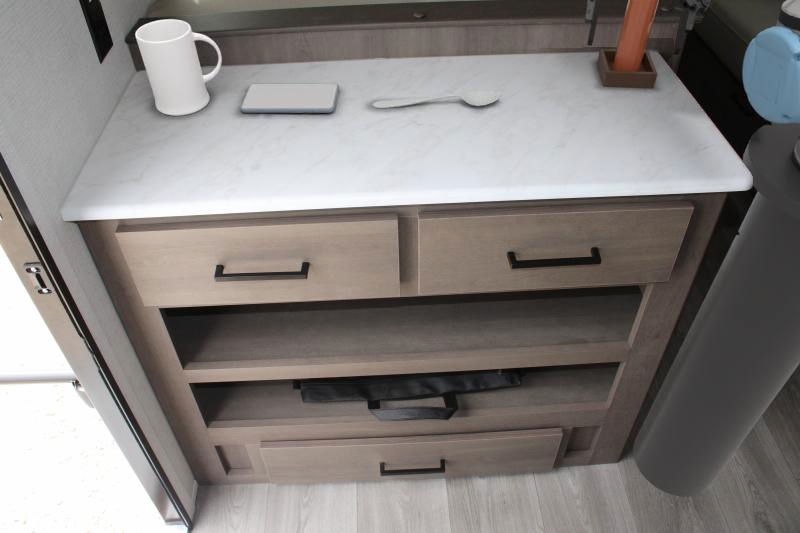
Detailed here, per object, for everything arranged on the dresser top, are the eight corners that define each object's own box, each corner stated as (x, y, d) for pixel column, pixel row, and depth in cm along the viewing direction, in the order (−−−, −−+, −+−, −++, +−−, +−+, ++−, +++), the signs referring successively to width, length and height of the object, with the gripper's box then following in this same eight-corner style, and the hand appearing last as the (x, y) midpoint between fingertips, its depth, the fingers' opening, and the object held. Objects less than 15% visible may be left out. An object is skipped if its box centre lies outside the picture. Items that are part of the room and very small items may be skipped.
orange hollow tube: (635, 65, 109) (658, -18, 99) (640, 78, 106) (664, -7, 96) (609, 65, 109) (630, -19, 99) (613, 77, 106) (634, -7, 96)
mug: (227, 83, 107) (212, 12, 98) (232, 108, 101) (216, 36, 93) (155, 93, 105) (133, 22, 96) (156, 119, 99) (132, 46, 90)
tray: (644, 64, 110) (648, 50, 108) (653, 88, 104) (657, 73, 103) (596, 63, 111) (599, 49, 109) (603, 86, 105) (606, 72, 103)
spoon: (502, 109, 100) (503, 99, 99) (372, 112, 100) (371, 103, 99) (498, 95, 103) (499, 86, 102) (372, 98, 103) (371, 89, 102)
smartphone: (249, 82, 105) (339, 82, 104) (251, 88, 106) (340, 87, 105) (238, 109, 99) (333, 109, 98) (240, 114, 100) (334, 114, 99)
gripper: (732, -66, 103) (708, 63, 103) (576, -77, 108) (553, 46, 108) (748, -92, 95) (722, 47, 96) (580, -103, 100) (556, 29, 100)
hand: (633, 47), depth 102 cm, fingers open, 13 cm apart
